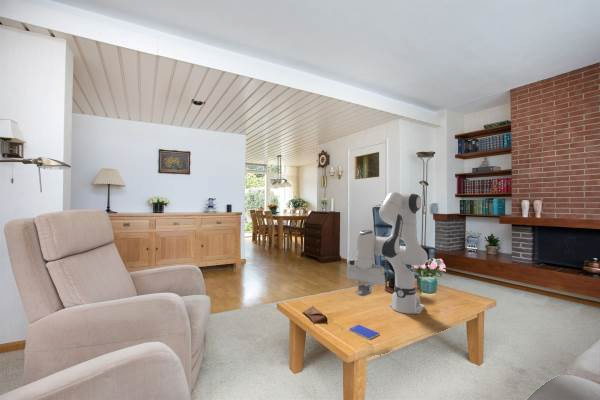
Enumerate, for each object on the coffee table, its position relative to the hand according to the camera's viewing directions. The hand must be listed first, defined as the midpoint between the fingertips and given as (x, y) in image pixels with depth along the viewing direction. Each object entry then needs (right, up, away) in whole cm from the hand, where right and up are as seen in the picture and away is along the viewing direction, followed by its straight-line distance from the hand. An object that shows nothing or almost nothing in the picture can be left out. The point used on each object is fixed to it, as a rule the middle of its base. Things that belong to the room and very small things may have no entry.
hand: (364, 290), depth 143 cm
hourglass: (+39, -23, +70) cm, 84 cm away
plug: (-1, -2, -1) cm, 2 cm away
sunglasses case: (-25, -22, +18) cm, 38 cm away
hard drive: (0, -22, 0) cm, 22 cm away
